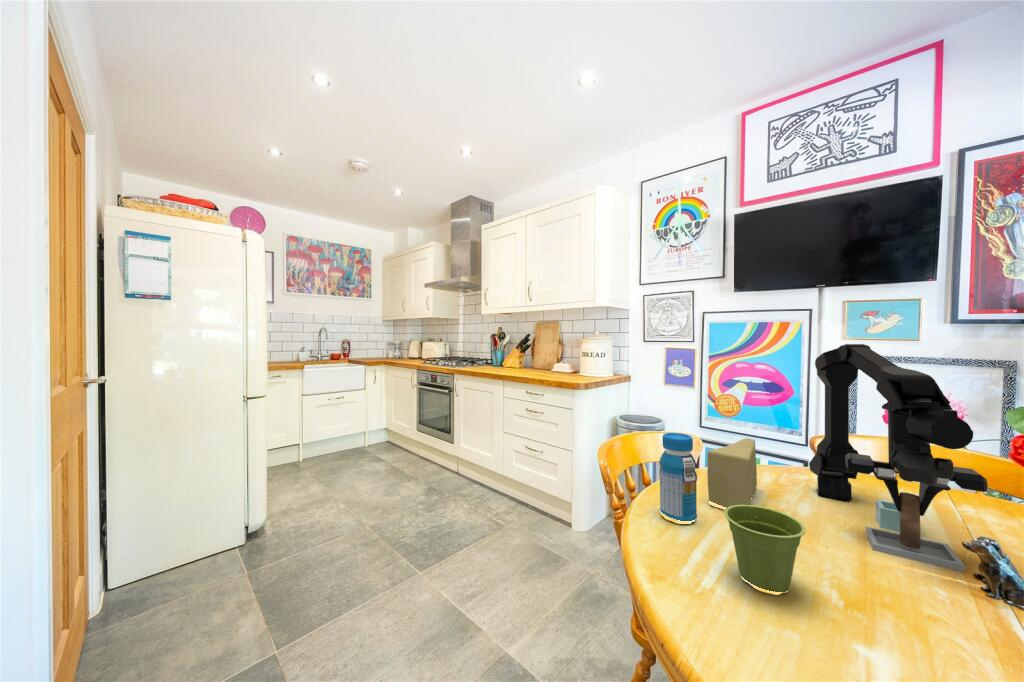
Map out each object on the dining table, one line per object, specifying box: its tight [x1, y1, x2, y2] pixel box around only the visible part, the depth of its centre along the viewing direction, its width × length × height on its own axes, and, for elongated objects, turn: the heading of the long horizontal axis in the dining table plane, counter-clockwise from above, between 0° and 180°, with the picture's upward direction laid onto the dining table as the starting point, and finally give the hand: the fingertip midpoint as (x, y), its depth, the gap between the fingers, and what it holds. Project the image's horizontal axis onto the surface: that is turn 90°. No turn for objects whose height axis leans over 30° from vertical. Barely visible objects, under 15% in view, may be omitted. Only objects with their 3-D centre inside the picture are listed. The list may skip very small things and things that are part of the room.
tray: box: [865, 526, 966, 573], centre depth 73 cm, size 12×9×2 cm
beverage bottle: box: [658, 432, 698, 521], centre depth 89 cm, size 8×8×20 cm
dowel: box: [899, 491, 921, 549], centre depth 74 cm, size 3×3×10 cm
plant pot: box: [723, 504, 807, 592], centre depth 64 cm, size 12×12×11 cm
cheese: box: [706, 438, 758, 508], centre depth 99 cm, size 22×10×15 cm, turn 132°
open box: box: [875, 498, 900, 533], centre depth 83 cm, size 6×6×5 cm
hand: (909, 513), depth 74 cm, fingers closed on dowel, 3 cm apart
